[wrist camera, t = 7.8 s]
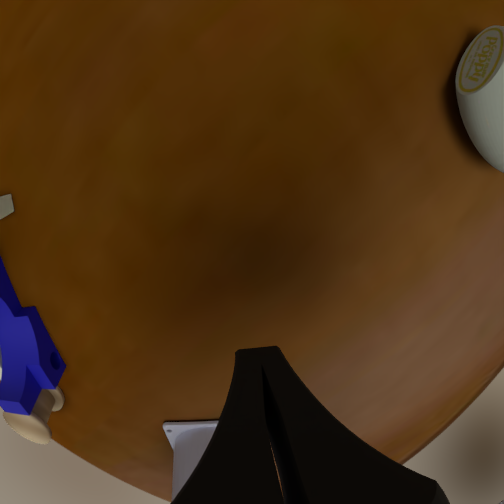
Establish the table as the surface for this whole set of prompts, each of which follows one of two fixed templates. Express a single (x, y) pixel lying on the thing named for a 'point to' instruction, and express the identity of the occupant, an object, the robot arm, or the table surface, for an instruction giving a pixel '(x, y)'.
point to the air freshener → (484, 94)
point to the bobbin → (37, 417)
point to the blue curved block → (24, 353)
